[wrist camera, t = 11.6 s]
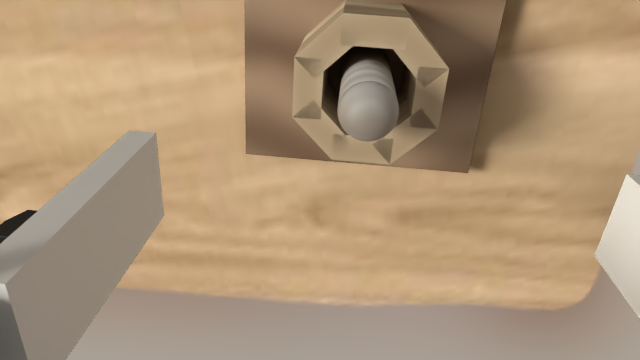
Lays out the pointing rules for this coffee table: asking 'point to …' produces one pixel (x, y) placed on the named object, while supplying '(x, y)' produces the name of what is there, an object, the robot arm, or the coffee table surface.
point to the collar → (413, 97)
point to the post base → (437, 23)
